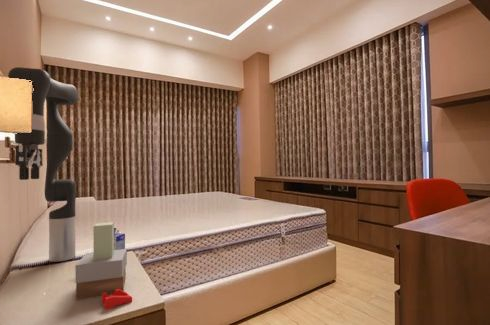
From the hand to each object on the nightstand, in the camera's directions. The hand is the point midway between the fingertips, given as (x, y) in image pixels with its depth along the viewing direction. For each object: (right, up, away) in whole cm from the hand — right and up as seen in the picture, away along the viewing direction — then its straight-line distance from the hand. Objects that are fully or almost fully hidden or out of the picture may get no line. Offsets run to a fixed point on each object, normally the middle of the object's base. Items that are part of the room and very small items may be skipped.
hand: (29, 179), depth 85 cm
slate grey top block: (+26, -29, -3) cm, 39 cm away
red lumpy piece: (+34, -33, -13) cm, 50 cm away
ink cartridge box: (+18, -34, +14) cm, 41 cm away
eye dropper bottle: (+17, -35, +24) cm, 46 cm away
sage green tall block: (+26, -24, -3) cm, 35 cm away
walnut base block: (+26, -34, -4) cm, 43 cm away
